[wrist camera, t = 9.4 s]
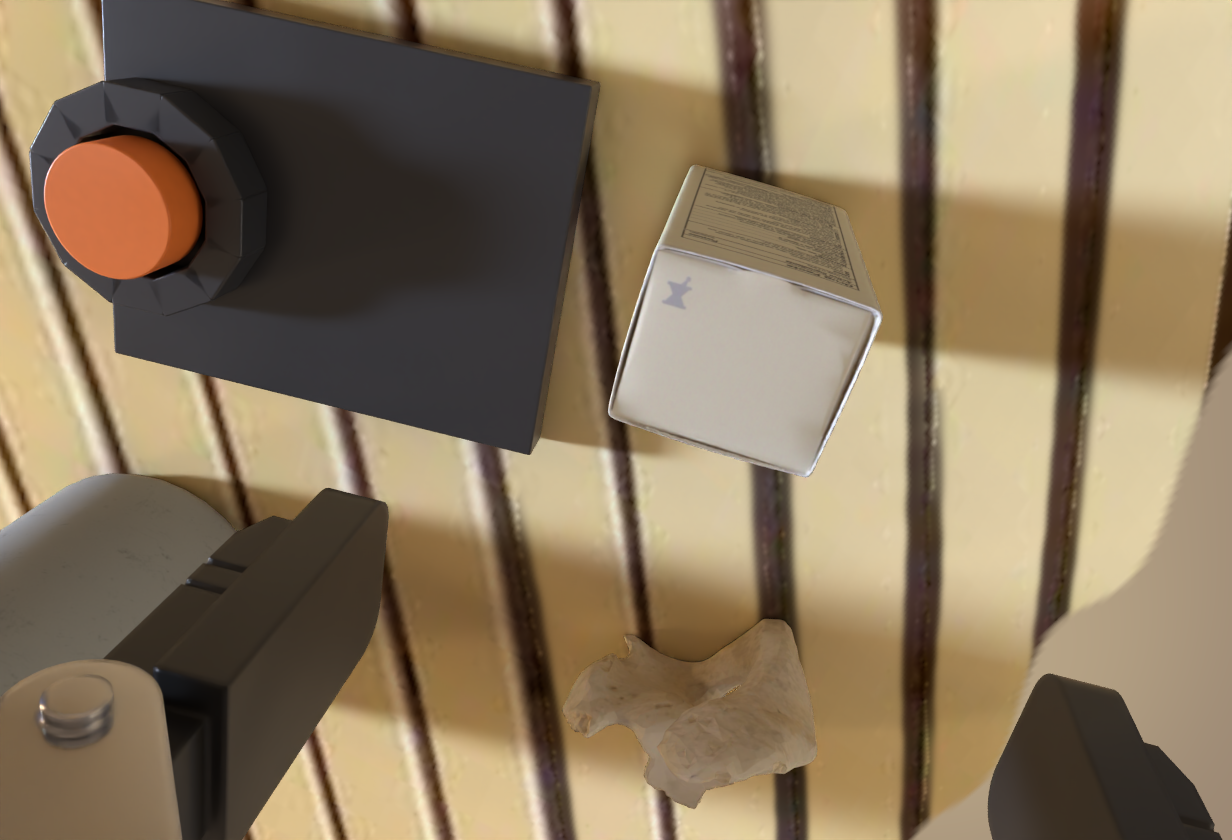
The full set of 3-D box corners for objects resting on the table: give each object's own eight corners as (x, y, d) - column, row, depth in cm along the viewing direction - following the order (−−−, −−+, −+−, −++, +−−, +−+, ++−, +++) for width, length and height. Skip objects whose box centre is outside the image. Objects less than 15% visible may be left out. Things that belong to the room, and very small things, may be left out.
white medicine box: (650, 292, 31) (591, 415, 22) (691, 158, 29) (647, 230, 20) (805, 343, 31) (811, 488, 21) (857, 211, 29) (889, 309, 20)
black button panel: (101, 330, 35) (42, 359, 32) (85, -30, 30) (14, -33, 27) (540, 438, 33) (518, 477, 31) (601, 82, 28) (581, 91, 26)
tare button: (86, 250, 31) (47, 263, 29) (79, 122, 29) (38, 129, 27) (203, 278, 30) (171, 293, 29) (204, 150, 29) (169, 159, 27)
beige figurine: (589, 791, 37) (530, 873, 28) (581, 623, 38) (521, 644, 29) (812, 786, 36) (833, 869, 26) (798, 613, 37) (814, 632, 27)
